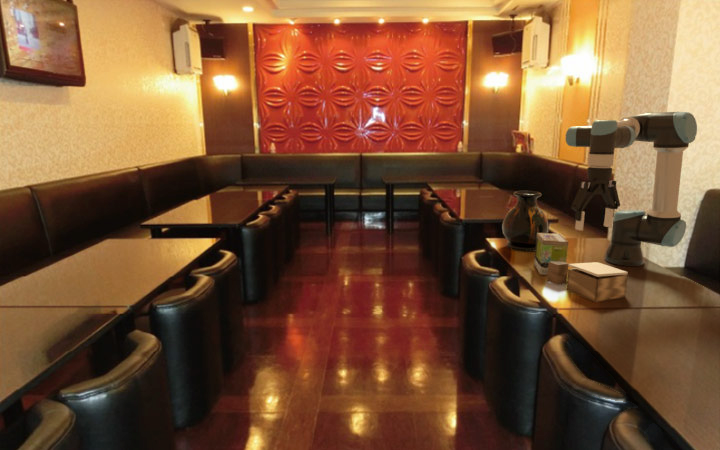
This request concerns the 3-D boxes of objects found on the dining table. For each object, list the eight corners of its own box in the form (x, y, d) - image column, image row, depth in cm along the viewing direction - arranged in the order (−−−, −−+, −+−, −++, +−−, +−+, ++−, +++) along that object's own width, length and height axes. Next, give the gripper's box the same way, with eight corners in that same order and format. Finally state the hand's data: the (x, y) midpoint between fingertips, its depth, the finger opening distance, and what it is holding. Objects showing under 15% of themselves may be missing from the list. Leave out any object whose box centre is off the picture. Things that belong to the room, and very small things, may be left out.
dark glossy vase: (541, 256, 213) (546, 197, 207) (495, 249, 224) (498, 193, 218) (550, 246, 230) (555, 191, 224) (507, 240, 242) (511, 188, 236)
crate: (595, 285, 174) (597, 265, 172) (625, 296, 162) (627, 275, 160) (566, 289, 169) (568, 269, 167) (595, 302, 157) (597, 280, 155)
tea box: (565, 276, 184) (569, 241, 181) (539, 275, 186) (542, 240, 183) (557, 265, 198) (560, 232, 195) (533, 264, 200) (536, 231, 197)
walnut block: (557, 279, 181) (558, 260, 179) (566, 283, 176) (568, 263, 174) (547, 281, 179) (548, 261, 177) (556, 285, 174) (558, 265, 173)
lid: (597, 264, 172) (597, 262, 172) (627, 274, 160) (627, 272, 160) (568, 266, 167) (568, 263, 167) (597, 276, 155) (597, 274, 155)
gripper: (617, 164, 162) (610, 223, 167) (563, 167, 154) (557, 228, 158) (636, 166, 155) (629, 227, 160) (580, 169, 147) (574, 233, 151)
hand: (593, 228), depth 159 cm, fingers open, 12 cm apart
